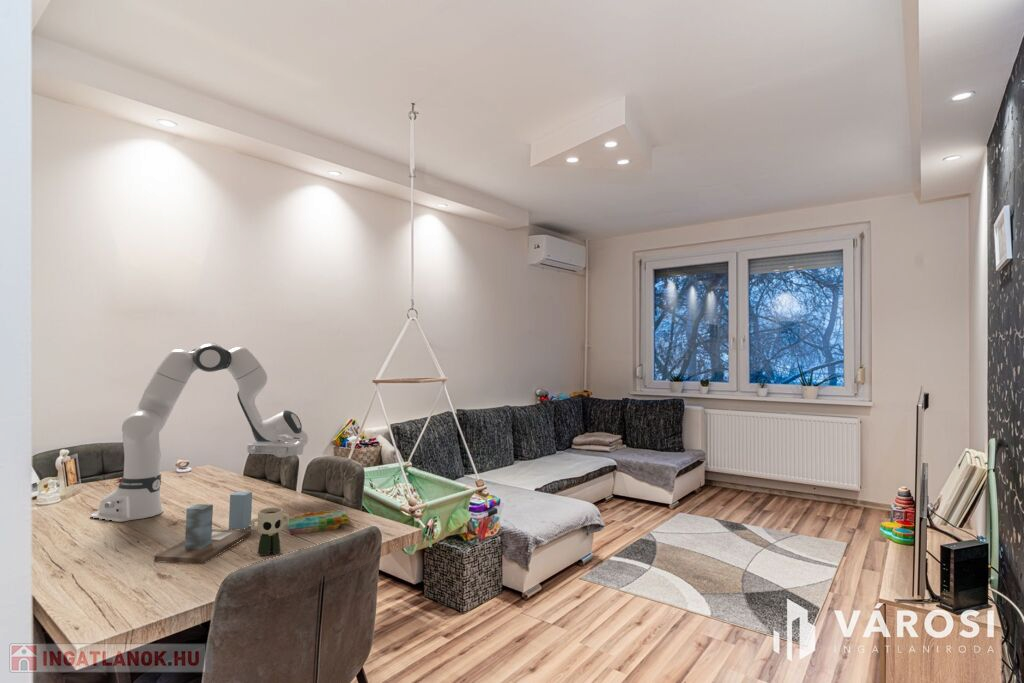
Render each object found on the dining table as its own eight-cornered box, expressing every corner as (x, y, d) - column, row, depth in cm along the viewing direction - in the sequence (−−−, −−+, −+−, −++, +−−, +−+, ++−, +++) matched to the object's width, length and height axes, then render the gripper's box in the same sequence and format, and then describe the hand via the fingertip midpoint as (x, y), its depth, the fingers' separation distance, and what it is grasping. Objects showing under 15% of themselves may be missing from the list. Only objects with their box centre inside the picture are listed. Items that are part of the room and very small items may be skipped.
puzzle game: (286, 512, 183) (345, 507, 192) (286, 526, 183) (344, 520, 192) (287, 522, 173) (349, 516, 181) (287, 536, 173) (348, 529, 181)
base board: (154, 561, 149) (156, 514, 149) (207, 533, 173) (209, 493, 173) (203, 563, 148) (205, 516, 149) (250, 535, 172) (252, 494, 173)
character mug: (252, 560, 151) (254, 516, 152) (246, 553, 157) (248, 510, 157) (290, 552, 158) (292, 510, 158) (284, 545, 164) (286, 504, 164)
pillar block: (228, 529, 177) (230, 494, 178) (237, 524, 182) (238, 490, 183) (242, 530, 177) (244, 495, 177) (250, 525, 182) (252, 491, 182)
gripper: (258, 437, 209) (238, 442, 195) (307, 438, 208) (290, 444, 194) (257, 452, 209) (237, 459, 195) (306, 454, 208) (289, 461, 194)
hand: (264, 451), depth 194 cm, fingers open, 8 cm apart
